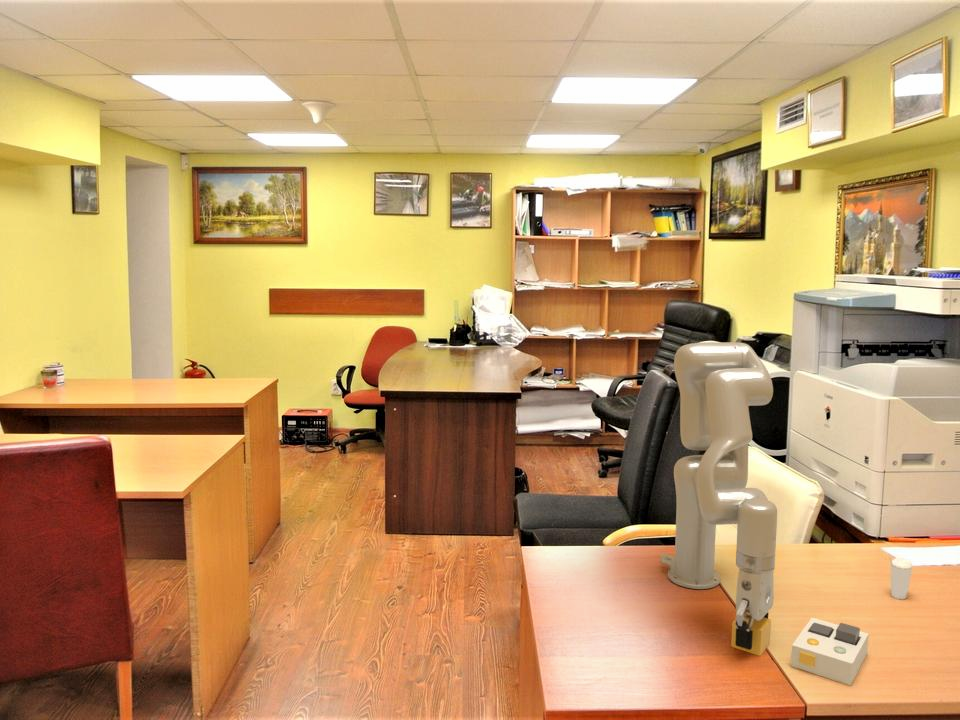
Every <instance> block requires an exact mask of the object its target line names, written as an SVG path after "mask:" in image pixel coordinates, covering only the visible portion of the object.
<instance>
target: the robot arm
mask: <svg viewBox="0 0 960 720" xmlns="http://www.w3.org/2000/svg"><path fill="white" fill-rule="evenodd" d="M673 361H674V362H673V369H674V370H673V371H674V375H675V380H676V382H677V386H678V389H679V394H680V404H679V405H680V407H679V409H680V411H679V415H680V417H679V420H680V421H679V424H680V425H679V426H680V428H679V429H680V433H679V434H680V440H681V443H682V446H683V447H684V448H686V449H687V450H690V451H705V452H704V453H703V454H695V455H688V456H686V455H685V456H683V457H681V458H680V459H678V460H677V461H676V462H675V464H674V466H673V479H674V485H675V495H676V498H675V499H676V511H675V513H676V516H675V517H676V518H675V540H674V541H675V545H674V547H675V548H674V554H673V555H670V554H668V553H664V552H662V553H660V557H659V559H660V564H661V565H665V566H668V567H669V569H668V570H667V577H668V579H669V580H670V581H671V582H672V583H674V584H675V585H678V586H679V587H683V588H687V589H688V588H689V589H694V590H708V589H711V588H715V587H717V586H718V585H719V584H720V583H721V574H719V572H717V571H716V570H715V555H716V554H715V553H716V533H717V526H719V525H720V526H721V525H724V526H725V525H736V527H737V529H736V553H735V554H736V555H735V565H736V567H737V568H738V576H737V584H736V592H735V593H736V595H735V619H736V641H735V644H736V646H739V647H742V648H745V649H748V650H751V648H752V636H753V631H752V630H751V628H752V624H753V620H754V619H755V620H756V621H759V620H761V619H762V618H763V617H765V618H768V619H769V611H770V610H771V609H772V607H773V606H774V571H775V567H776V565H775V564H776V549H777V548H776V546H777V545H776V544H777V530H778V529H777V526H778V524H777V523H778V508H777V506H776V505H775V503H773V502H772V501H771V500H769V499H768V497H767V495H766V494H765V493H764V492H763V491H762V490H761V489H759V488H757V487H746V486H747V484H748V479H749V443H751V441H752V440H753V430H752V426H751V425H752V424H751V419H750V418H751V416H750V410H749V409H750V408H749V407H750V406H753V407H754V406H755V407H756V406H765V405H768V404H770V402H771V401H772V398H773V396H774V395H773V394H774V385H773V380H772V377H771V375H770V373H769V371H768V370H767V368H766V366H765V364H764V363H763V361H762V360H761V359H760V357H759V355H757V353H756V352H755V350H754V349H753V347H752V346H750V345H749V344H748V343H745V342H738V341H737V342H736V341H735V342H734V341H730V342H727V341H726V342H725V341H724V342H721V341H720V342H713V341H711V342H693V343H688V344H684V345H682V346H681V347H679V348H678V349H677V350H676V352H675V354H674V360H673ZM746 612H747V613H750V614H751V615H747V614H745V613H746ZM744 618H746V619H749V622H748V624H747V623H746V621H744Z"/></svg>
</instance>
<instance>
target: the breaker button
mask: <svg viewBox="0 0 960 720" xmlns="http://www.w3.org/2000/svg"><path fill="white" fill-rule="evenodd" d="M838 625H839V626H838V628H837V629H836V639H835V640H838V641H842V642H845V643H849V644H852V645H855V646H856V645H857V644H858V642H859V634H860V631H861V628H860V627H858V626H855V625H851V624H847V623H843V622H840V623H839V624H838Z"/></svg>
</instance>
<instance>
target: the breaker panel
mask: <svg viewBox="0 0 960 720" xmlns="http://www.w3.org/2000/svg"><path fill="white" fill-rule="evenodd" d="M814 623H818V624H821V625H825V626H828V627H832V628H833V632H832V634H831V636H830V638H828V637H825V636H821V635H818V634H815V633H811V632H809V629H810V628H811V627H812V625H813V624H814ZM838 626H839V624H836V623H833V622H829V621H825V620H821V619H819V618H815V617H811V618H810V619H809V621H808V623H807V624H806V625H805V626H804V627H803V629H802V631H801V632H800V633H799V635H798V636H797V638H796V639H795V641H793V643H792V645H791V656H790V659H791V660H790V667H793V668H796V669H799V670H802V671H805V672H807V673H810V674H814V675H817V676H820V677H823V678H826V679H829V680H832V681H836V682H838V683H842V684H845V685H848V686H850V687H851V686H852V684H853V682H854V680H855V679H856V676H857V675H858V673H859V670H860V668H861V666H862V665H863V663H864V661H865V659H866V657H867V656H868V647H869V646H868V645H869V635H870V634H869V633H868V632H865V631H861V630H860V634H859V642H858V644H857V645H856V646H855V645H852V644H849V643H845V642H842V641H838V640H835V639H836V629H837V628H838Z"/></svg>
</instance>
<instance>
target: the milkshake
mask: <svg viewBox="0 0 960 720" xmlns="http://www.w3.org/2000/svg"><path fill="white" fill-rule="evenodd" d="M889 560H890V595H891V597H892V598H894V599H896V600H897V599H898V600H906V599H907V598H908V592H909V588H910V581H911V575H912V571H913V563H912V562H910V561H909V560H908V559H904V558H903V557H902V558H901V557H895V558H893V559H892V557H891V556H889Z"/></svg>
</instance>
